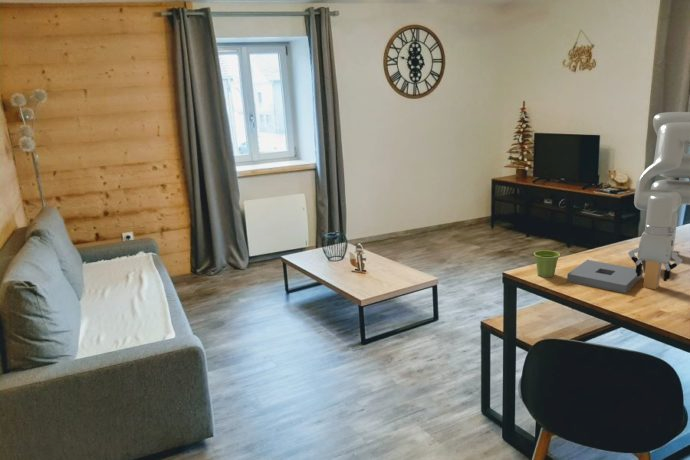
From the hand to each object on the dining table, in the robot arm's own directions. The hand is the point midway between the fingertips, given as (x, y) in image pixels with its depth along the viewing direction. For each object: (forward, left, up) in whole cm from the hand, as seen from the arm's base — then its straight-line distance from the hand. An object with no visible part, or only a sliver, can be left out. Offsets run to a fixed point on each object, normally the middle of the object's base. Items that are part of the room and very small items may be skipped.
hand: (652, 277), depth 184 cm
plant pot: (+10, -34, -4) cm, 36 cm away
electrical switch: (-17, -5, -4) cm, 18 cm away
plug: (0, 0, -3) cm, 3 cm away
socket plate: (+2, -15, -3) cm, 16 cm away
